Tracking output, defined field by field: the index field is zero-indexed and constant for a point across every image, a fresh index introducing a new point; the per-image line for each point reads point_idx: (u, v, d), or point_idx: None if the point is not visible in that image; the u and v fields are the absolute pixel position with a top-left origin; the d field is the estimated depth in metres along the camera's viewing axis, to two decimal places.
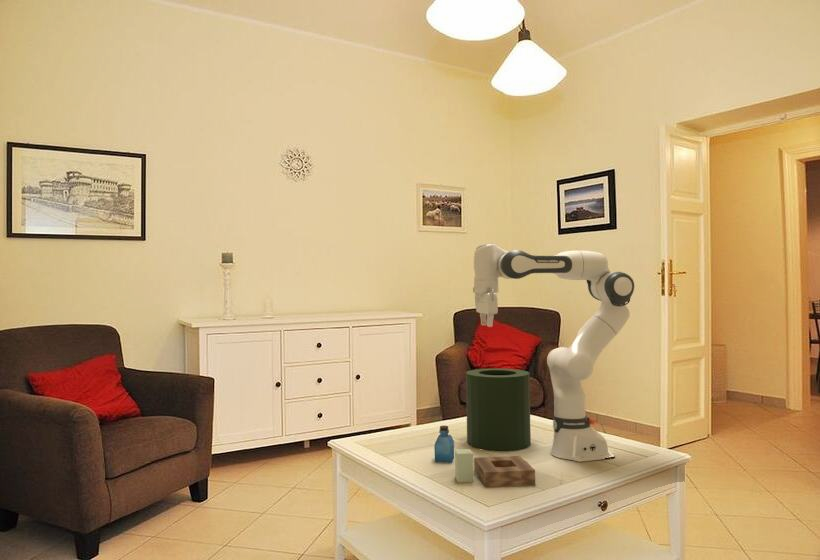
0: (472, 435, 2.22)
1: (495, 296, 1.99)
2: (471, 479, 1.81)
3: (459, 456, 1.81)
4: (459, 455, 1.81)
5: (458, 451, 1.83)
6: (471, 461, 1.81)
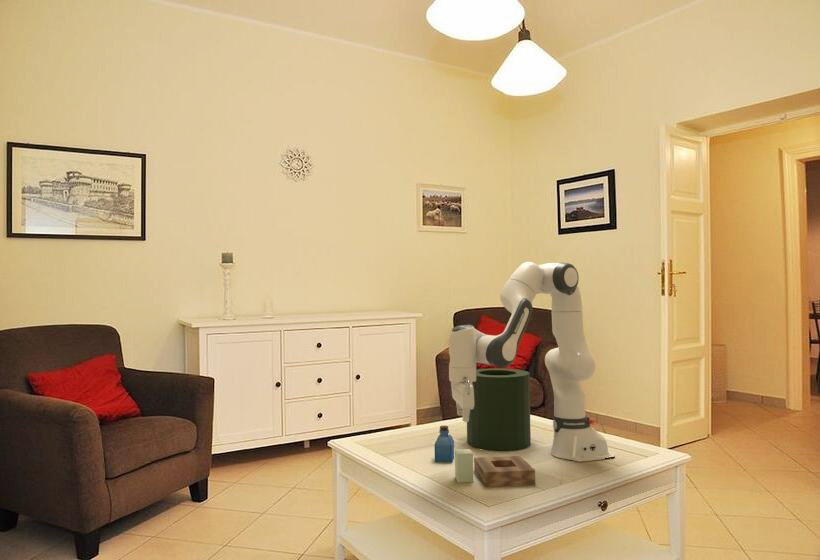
0: (472, 435, 2.22)
1: (471, 389, 1.75)
2: (471, 479, 1.81)
3: (459, 456, 1.81)
4: (459, 455, 1.81)
5: (458, 451, 1.83)
6: (471, 461, 1.81)
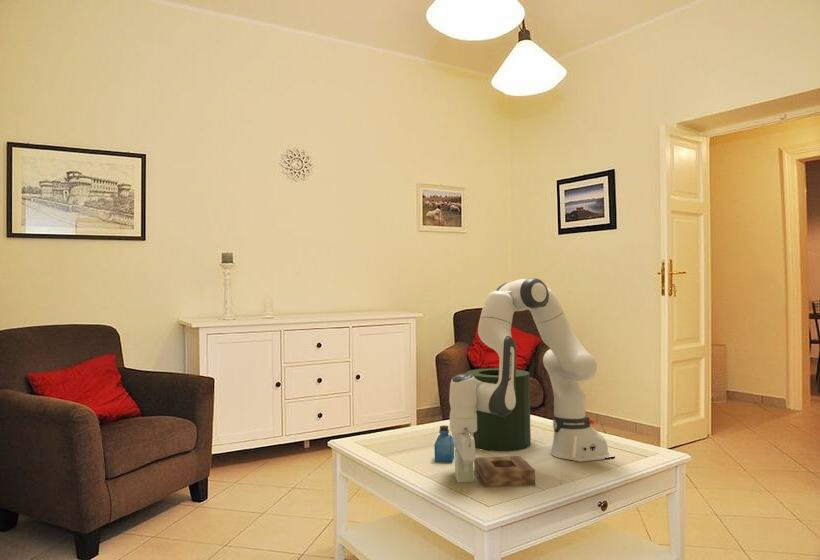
0: None
1: (472, 441, 1.75)
2: (471, 479, 1.81)
3: (459, 456, 1.81)
4: (459, 455, 1.81)
5: None
6: None
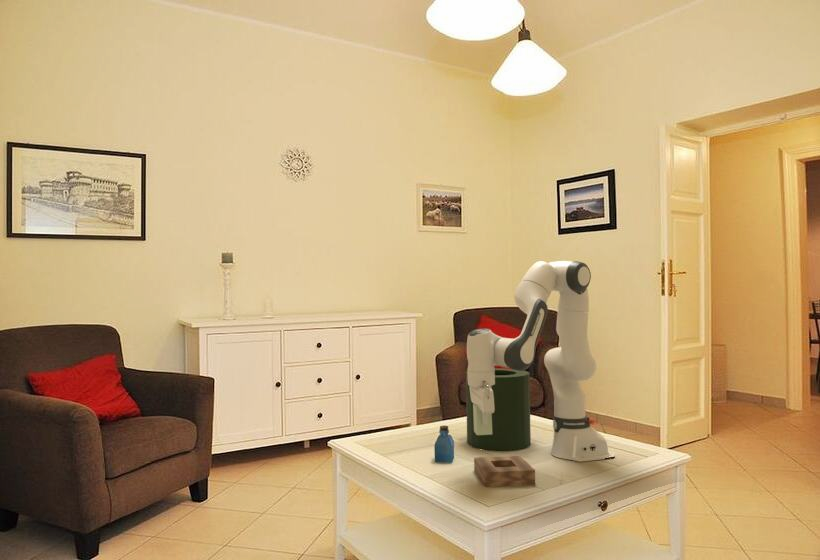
0: (472, 435, 2.22)
1: (491, 393, 1.76)
2: (490, 432, 1.83)
3: (477, 409, 1.82)
4: (477, 408, 1.82)
5: None
6: (489, 414, 1.83)
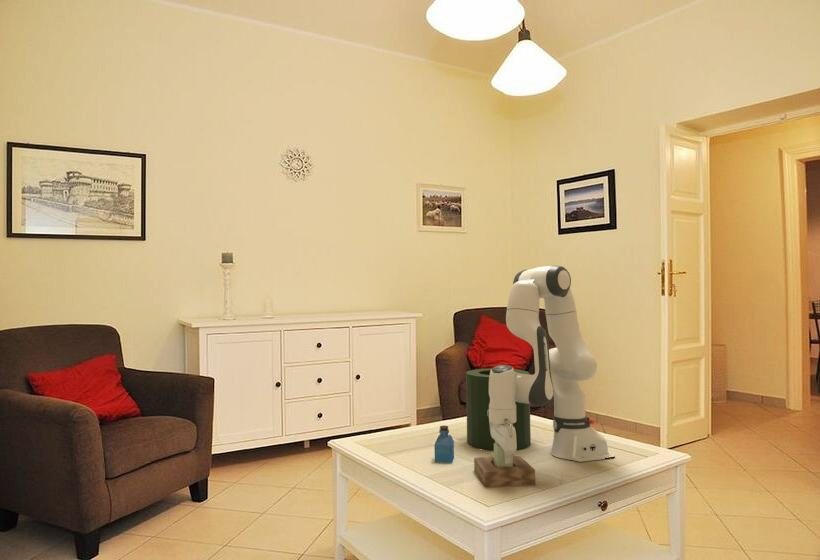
0: (472, 435, 2.22)
1: (514, 432, 1.76)
2: None
3: (499, 450, 1.82)
4: (499, 449, 1.82)
5: (498, 445, 1.85)
6: None
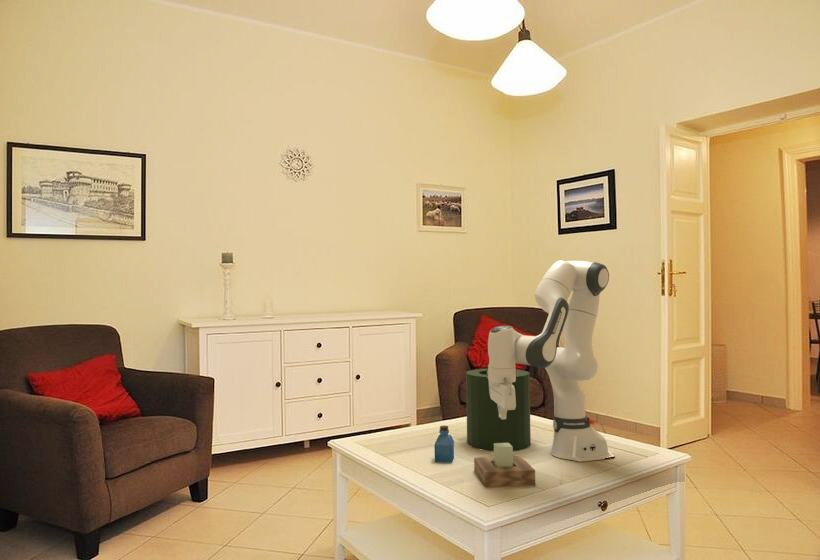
0: (472, 435, 2.22)
1: (513, 390, 1.76)
2: None
3: (499, 450, 1.82)
4: (499, 449, 1.82)
5: (498, 445, 1.85)
6: (511, 454, 1.83)
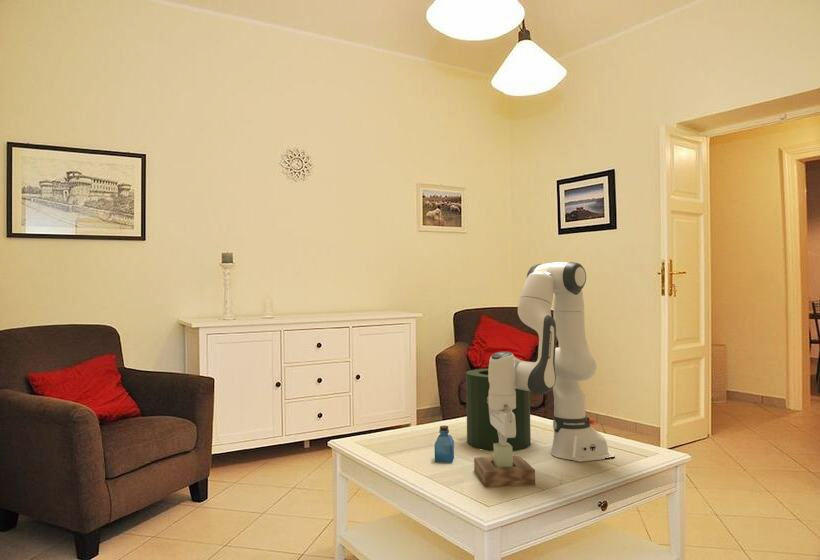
0: (472, 435, 2.22)
1: (513, 417, 1.76)
2: None
3: (498, 450, 1.82)
4: (498, 449, 1.82)
5: (497, 445, 1.85)
6: (510, 454, 1.83)
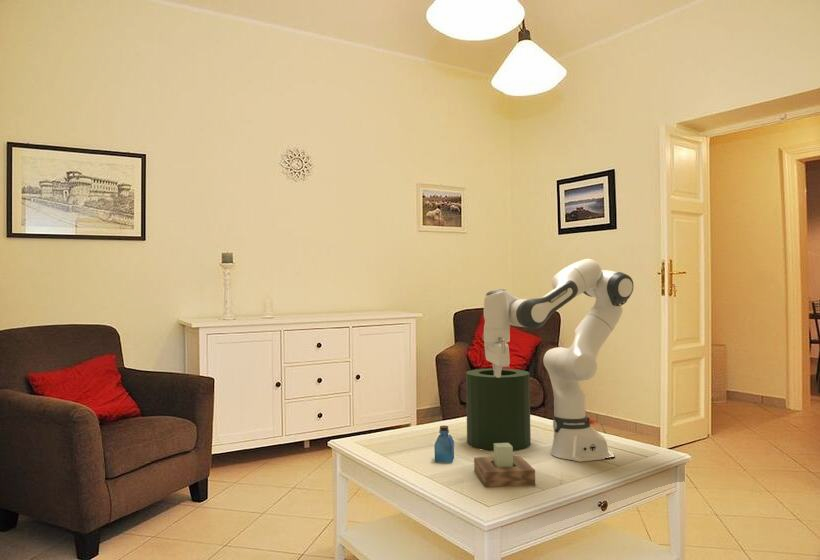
0: (472, 435, 2.22)
1: (507, 348, 1.87)
2: None
3: (499, 450, 1.82)
4: (499, 449, 1.82)
5: (498, 445, 1.85)
6: (511, 454, 1.83)
